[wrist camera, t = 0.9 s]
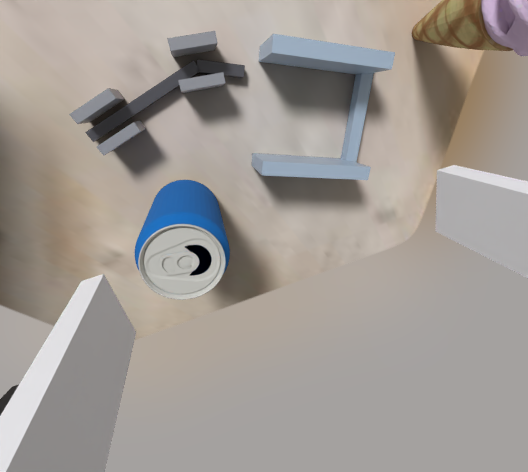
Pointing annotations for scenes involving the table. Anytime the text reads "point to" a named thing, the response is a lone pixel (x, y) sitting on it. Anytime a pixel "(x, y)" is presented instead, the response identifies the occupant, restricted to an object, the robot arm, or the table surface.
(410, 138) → the table surface
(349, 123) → the end holder
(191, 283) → the beverage can
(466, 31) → the ice cream cone
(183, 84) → the clip
